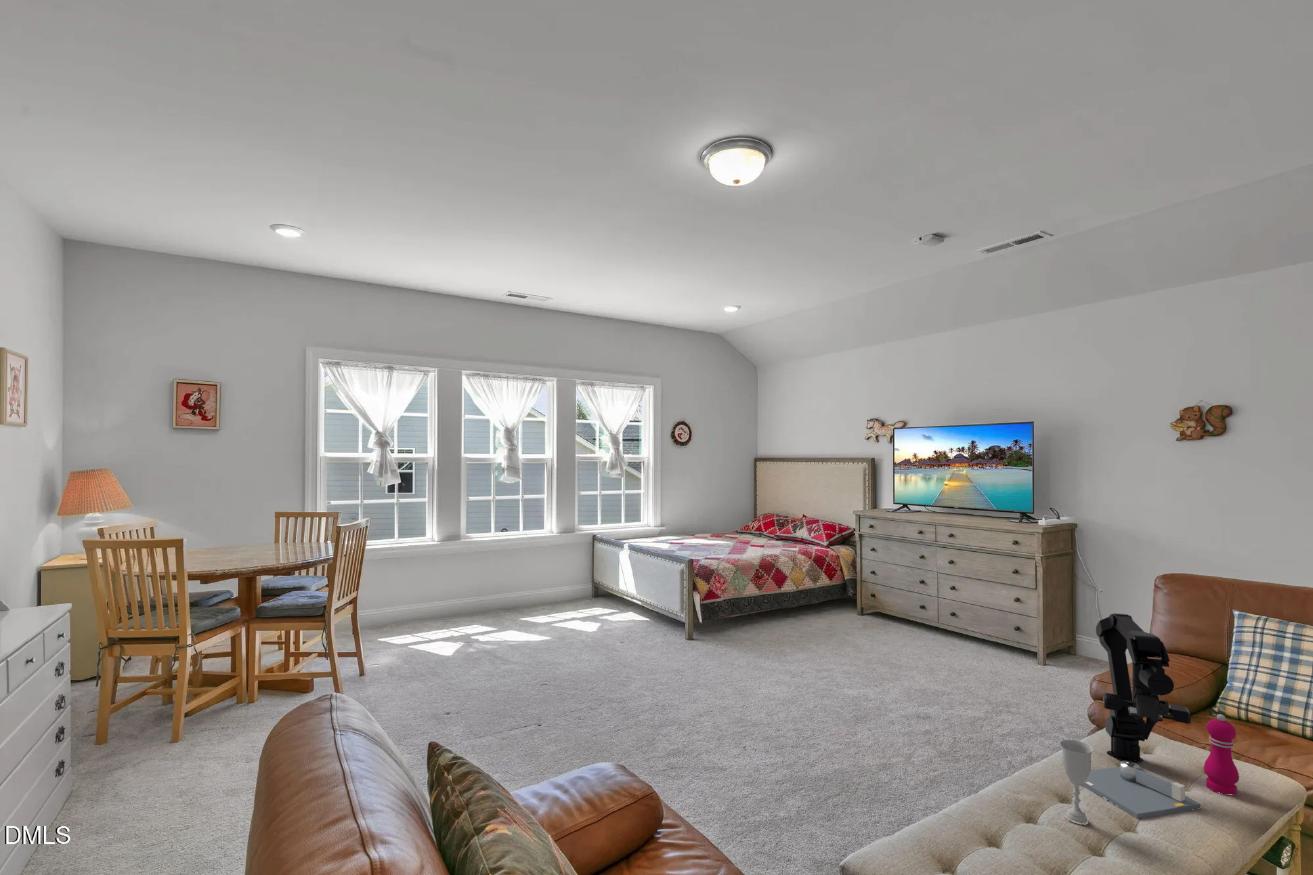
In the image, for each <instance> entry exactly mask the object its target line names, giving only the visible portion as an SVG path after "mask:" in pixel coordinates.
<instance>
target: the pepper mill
mask: <svg viewBox="0 0 1313 875" xmlns="http://www.w3.org/2000/svg"><path fill="white" fill-rule="evenodd" d="M1206 731H1207V732H1208V734H1209V736H1208V742H1209V743H1210V745H1211V746H1210V753H1209V755H1208V756H1207V758H1206V760H1205V761H1204V764H1203V772H1204V774H1205V775H1206V776H1207V777H1206V778H1205V786H1206V787H1207V789H1209V790H1211V791H1212V790H1213V791H1212V792H1215V793H1217V792H1220V793H1222V794H1221V795H1224V794H1236V793H1237V794H1238V786H1237V785H1236V784H1237V783H1238V782H1239V781H1240V773H1239V771H1238V768H1237V766H1236V764H1235V762H1234V760H1233V757H1232V749H1233V748H1234V739H1235V738H1236V737H1237V730H1236V728H1235V726H1234V725H1233V724H1232V723H1230V722H1229V721H1227V720H1226V717H1225V715H1223V714H1217V715H1216V718H1213V719H1210V720H1208V722H1207V723H1206ZM1220 793H1219V794H1220ZM1237 794H1236V795H1237Z"/></svg>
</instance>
